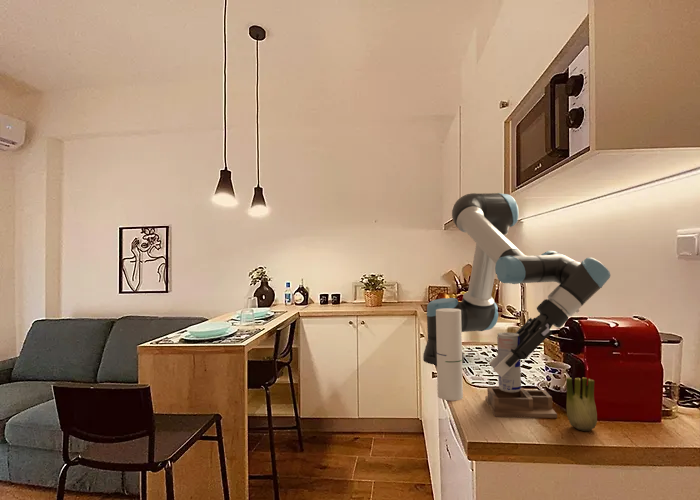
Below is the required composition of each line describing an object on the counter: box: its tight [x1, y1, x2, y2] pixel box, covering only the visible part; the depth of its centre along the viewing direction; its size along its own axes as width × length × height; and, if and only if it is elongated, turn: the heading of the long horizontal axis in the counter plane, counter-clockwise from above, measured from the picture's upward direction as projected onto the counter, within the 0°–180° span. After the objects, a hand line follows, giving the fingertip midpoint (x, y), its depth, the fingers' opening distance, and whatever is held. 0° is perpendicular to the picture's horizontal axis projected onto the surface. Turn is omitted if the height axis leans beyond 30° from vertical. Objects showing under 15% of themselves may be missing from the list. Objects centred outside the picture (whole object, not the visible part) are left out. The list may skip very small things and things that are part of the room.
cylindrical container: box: [436, 308, 464, 401], centre depth 131 cm, size 7×7×25 cm
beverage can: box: [496, 331, 522, 393], centre depth 120 cm, size 6×6×15 cm
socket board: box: [485, 386, 558, 419], centre depth 120 cm, size 13×15×4 cm
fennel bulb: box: [565, 376, 598, 432], centre depth 106 cm, size 6×5×12 cm
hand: (495, 370), depth 121 cm, fingers closed on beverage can, 5 cm apart
